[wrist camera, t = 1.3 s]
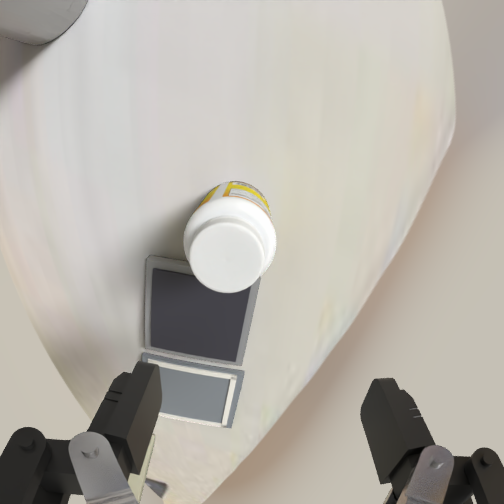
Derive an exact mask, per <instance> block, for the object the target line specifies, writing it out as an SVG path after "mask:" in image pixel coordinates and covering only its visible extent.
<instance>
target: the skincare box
mask: <svg viewBox="0 0 504 504" xmlns="http://www.w3.org/2000/svg"><path fill="white" fill-rule="evenodd" d="M154 441H155V435H153V434H152V437H151V440H150V443H149V446H148V449H147V453H146V456H145V459H144V462H143V466H142V469H141V472H140V475H136V474H132V473H130V476H129V479H128V484H129V486H130V488H131V490H132V492H133V494H134V495H135V497H136V499H137V501H138V503H139V504H140V500H141V495H142V491H143V487H144V483H145V479H146V475H147V471H148V467H149V463H150V459H151V455H152V451H153V447H154Z"/></svg>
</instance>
